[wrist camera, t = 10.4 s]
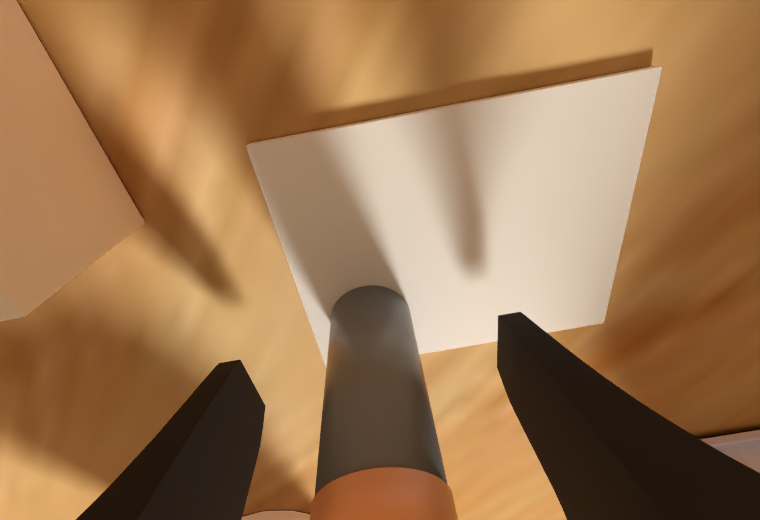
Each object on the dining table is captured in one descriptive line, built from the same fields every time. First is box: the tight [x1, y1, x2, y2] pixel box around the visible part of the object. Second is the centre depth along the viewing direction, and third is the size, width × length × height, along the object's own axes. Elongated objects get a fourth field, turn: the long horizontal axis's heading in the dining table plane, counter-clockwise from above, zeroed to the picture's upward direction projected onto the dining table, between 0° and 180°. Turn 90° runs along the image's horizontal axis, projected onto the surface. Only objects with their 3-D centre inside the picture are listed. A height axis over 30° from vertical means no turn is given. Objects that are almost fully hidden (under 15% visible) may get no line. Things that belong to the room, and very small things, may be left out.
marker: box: [310, 285, 458, 520], centre depth 8 cm, size 3×3×7 cm
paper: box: [246, 66, 662, 367], centre depth 10 cm, size 10×8×1 cm
